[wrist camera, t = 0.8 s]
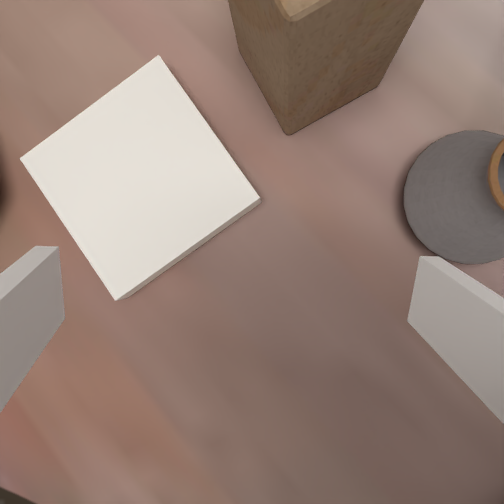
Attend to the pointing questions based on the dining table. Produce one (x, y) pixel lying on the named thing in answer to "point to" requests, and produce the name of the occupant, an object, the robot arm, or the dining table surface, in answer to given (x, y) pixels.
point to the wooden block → (318, 50)
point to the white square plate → (140, 179)
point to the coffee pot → (459, 197)
